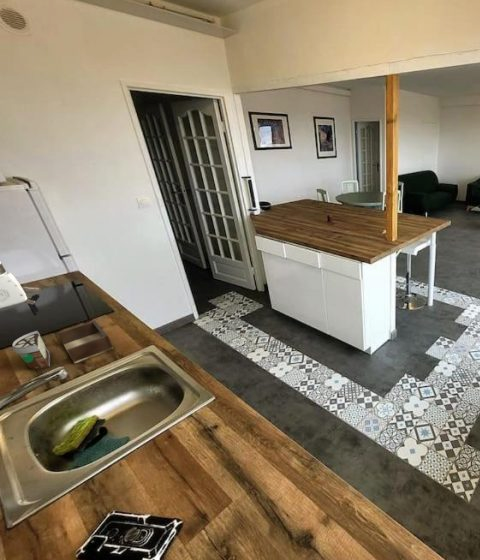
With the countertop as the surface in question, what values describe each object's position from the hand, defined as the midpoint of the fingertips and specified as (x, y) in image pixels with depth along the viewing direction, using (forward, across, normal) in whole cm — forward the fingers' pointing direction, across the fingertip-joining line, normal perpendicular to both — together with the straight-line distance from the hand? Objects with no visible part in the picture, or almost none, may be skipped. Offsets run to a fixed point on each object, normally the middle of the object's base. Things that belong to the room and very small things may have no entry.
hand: (14, 320), depth 101 cm
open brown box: (+19, +13, 0) cm, 23 cm away
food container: (+19, -1, +1) cm, 19 cm away
